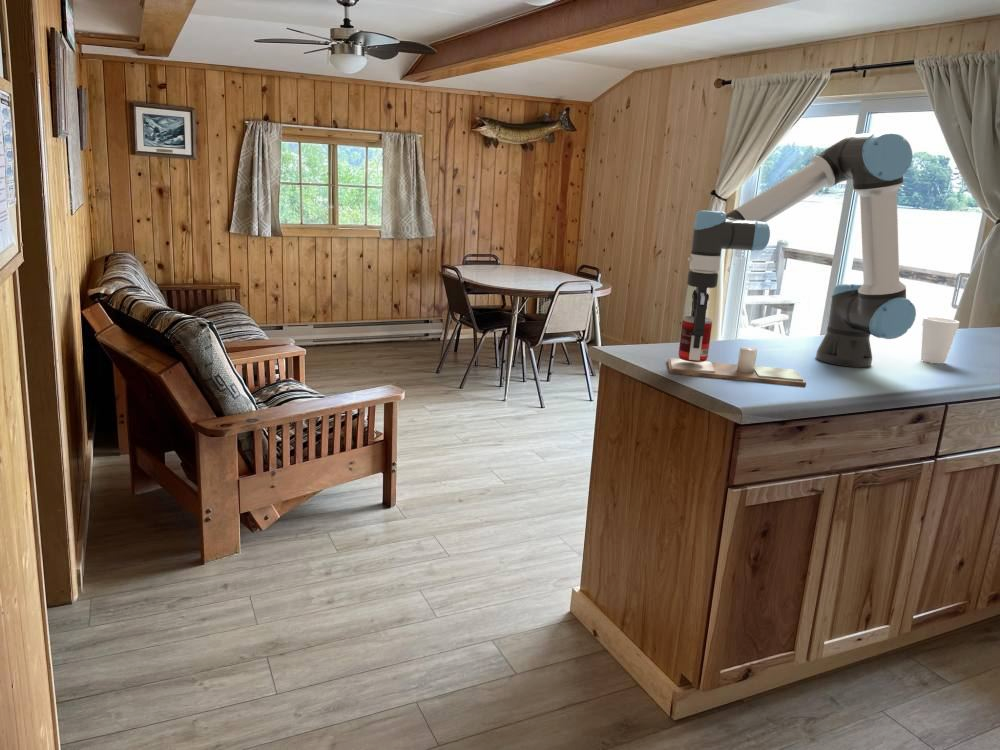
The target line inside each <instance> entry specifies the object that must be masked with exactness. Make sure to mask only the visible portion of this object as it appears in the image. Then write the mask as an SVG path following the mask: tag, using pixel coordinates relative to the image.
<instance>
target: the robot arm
mask: <svg viewBox="0 0 1000 750" xmlns="http://www.w3.org/2000/svg"><path fill="white" fill-rule="evenodd" d="M912 163H913V150H912V147H911V144H910V142H909V141H908V140H907V138H905V137H904V136H902V135H901V134H899V133H896V132H889V131H888V132H887V131H878V132H870V133H858V134H853V135H849V136H846V137H844V138H843V139H841V140H839V141H838V142H836V143H834V144H833V145H831V146H828V147H827V148H826V149H824V150H823V151H821V152H820V153H817V154H816V155H814V156H813V157H812V158H811V159H810V163H809V164H807V165H805V166H804V167H802V168H800V169H799V170H797V171H795V172H794V173H792V174H790V175H789V176H787V177H786V178H784V179H782V180H781V181H779V182H778V183H776V184H774V185H773V186H771V187H770V188H769V187H768V188H767V189H766V190H764V191H763V192H761V193H760V194H757V195H756V196H754V197H753V198H751V199H750V200H748V201H746V202H744V203H743V204H741V205H740V206H738V207H737V208H735V209H733V210H731V211H729V212H728V213H726V212H725V211H719V210H704V209H703V210H699V211H697V212H696V215H695V218H694V224H693V228H692V230H693V233H692V240H691V241H692V243H691V251H690V256H689V257H687V261H689V269H690V270H689V271H688V275H687V285H688V286H690V287H694V288H695V289H694V290H693V291H692V295H691V297H692V301H691V311H690V316H694V326H693V333H690V335H692V338H691V346H690V354H689V360H699V361H700V354H701V346H702V338H703V335H704V327H705V318H707V317H706V316H707V310H708V302H709V300H710V294H709V293H707V291H708V289H714V288H717V286H718V278H719V274H718V273H717V272H719V270H720V266H721V260H722V259H721V258H722V250H737V251H739V250H741V251H751V252H753V251H762V250H765V248H766V247H767V246H768V244H769V241H770V238H771V230H770V226H769V224H768V223H767V222H769V221H770V220H772V219H773V218H775V217H777V216H779V215H780V214H782V213H783V212H785V211H788V209H790V208H792V207H794V206H795V205H797V204H799V203H800V202H802V201H803V200H805V199H807V198H808V197H810V196H812V195H814V194H815V193H817V192H819V191H820V190H822V189H823V188H832V187H834V186H835V185H837V184H840V183H842V182H846V181H849V180H850V181H851V180H852V187H853V188H852V189H853V191H854V192H856V193H857V194H858V195H859V198H860V199H859V201H860V224H861V228H860V229H861V247H862V248H861V251H862V252H861V253H862V274H863V276H862V277H863V283H862V284H858V283H857V284H856V283H855V284H854V283H853V284H849V283H838V284H837V285H835V286H834V289H833V291H832V296H831V302H830V303H831V304H830V310H829V314H828V321H827V327H826V333H825V334H824V337H823V339H822V340H821V343H820V344H819V346H818V348H817V350H816V354H815V359H817V360H819V361H820V362H823V363H827V364H830V365H834V366H842V367H851V368H853V367H854V368H867V366H868V367H871V366H872V362H873V353H872V348H871V341H870V337H871V335H872V336H873V337H875V338H879V339H885V340H894V339H898V338H900V337H902V336H903V335H905V334H906V333H907V332H908V330H909V329H911V328H912V326H913V325H914V322H915V320H916V316H917V310H916V307H915V305H914V303H913V302H912V301H911V300H910V299H909V298H907V286H906V285H905V284H904V283H903V282H901V280H900V259H899V257H900V256H899V255H900V254H899V228H898V226H899V223H898V220H899V219H898V198H897V197H898V190H899V189H900V188H901V187H902V186H903V184H904V175H906V174H907V172H908V169H910V167H911V166H912Z"/></svg>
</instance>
